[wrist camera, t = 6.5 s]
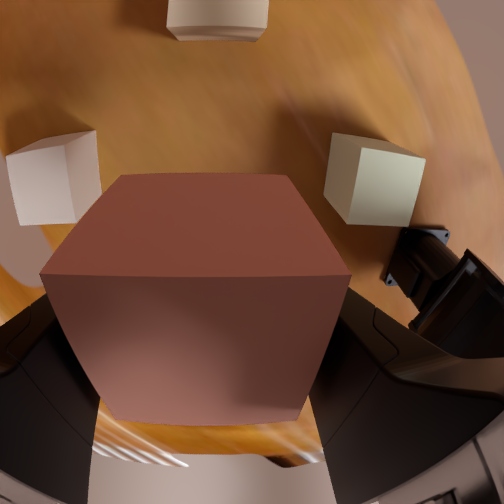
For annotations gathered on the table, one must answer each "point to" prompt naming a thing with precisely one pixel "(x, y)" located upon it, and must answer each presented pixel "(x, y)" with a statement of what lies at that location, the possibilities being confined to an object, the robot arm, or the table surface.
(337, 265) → the brick-red block
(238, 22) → the ash block
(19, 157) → the pale grey block
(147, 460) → the table surface
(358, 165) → the sage green block
